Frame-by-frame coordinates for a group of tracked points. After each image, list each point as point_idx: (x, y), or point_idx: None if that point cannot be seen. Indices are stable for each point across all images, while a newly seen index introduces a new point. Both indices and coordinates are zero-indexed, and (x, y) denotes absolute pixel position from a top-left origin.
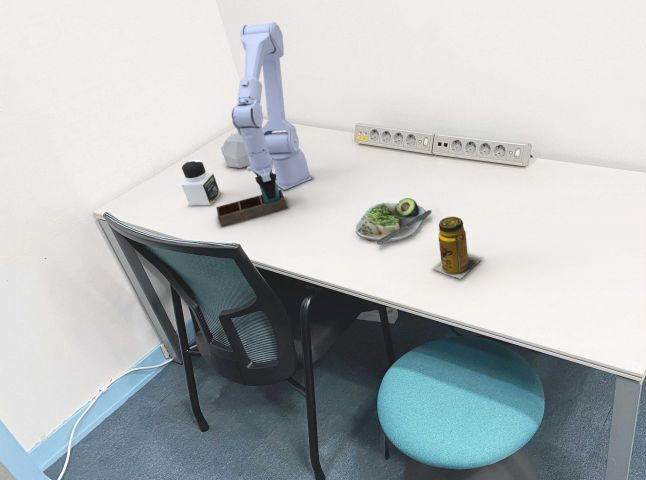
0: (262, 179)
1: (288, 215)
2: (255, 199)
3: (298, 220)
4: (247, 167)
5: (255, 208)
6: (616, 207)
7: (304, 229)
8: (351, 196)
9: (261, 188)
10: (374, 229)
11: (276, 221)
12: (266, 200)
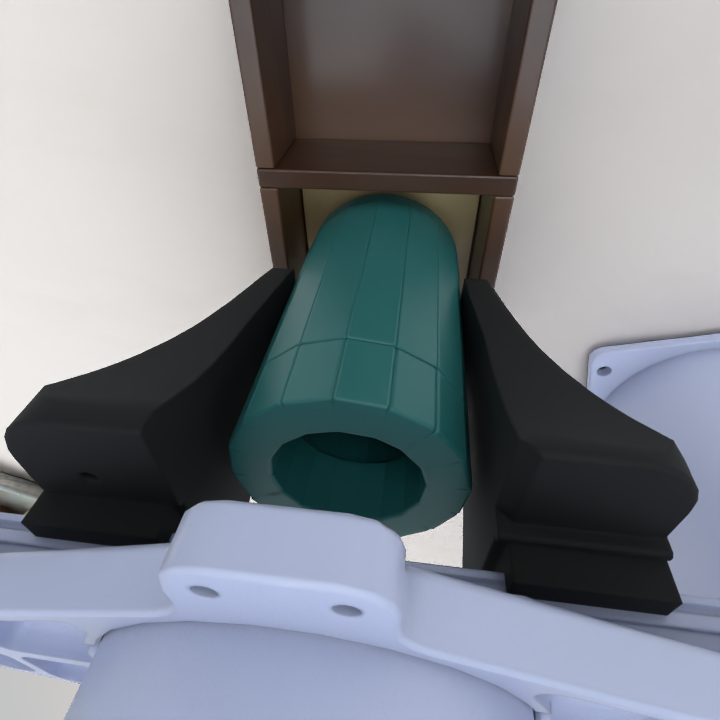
0: (40, 484)
1: (208, 291)
2: (504, 114)
3: (128, 324)
4: (313, 591)
5: (248, 81)
6: None
7: (22, 326)
8: None
9: (305, 305)
10: (11, 494)
11: (145, 204)
12: (320, 235)
